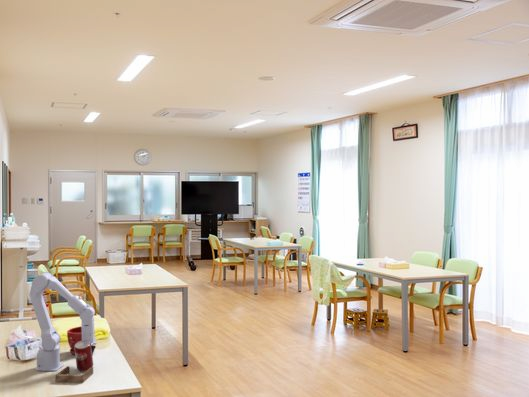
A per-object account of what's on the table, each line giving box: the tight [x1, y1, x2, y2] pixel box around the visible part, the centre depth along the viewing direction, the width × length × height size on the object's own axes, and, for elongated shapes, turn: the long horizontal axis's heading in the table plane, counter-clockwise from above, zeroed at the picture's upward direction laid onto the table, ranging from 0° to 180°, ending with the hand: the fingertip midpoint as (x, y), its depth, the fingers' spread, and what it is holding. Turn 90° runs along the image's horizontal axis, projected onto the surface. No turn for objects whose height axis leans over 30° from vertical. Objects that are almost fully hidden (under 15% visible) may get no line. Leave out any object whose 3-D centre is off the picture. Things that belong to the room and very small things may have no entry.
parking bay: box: [55, 366, 94, 384], centre depth 242 cm, size 12×12×3 cm
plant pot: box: [66, 325, 95, 356], centre depth 278 cm, size 13×13×12 cm
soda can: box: [74, 340, 94, 372], centre depth 251 cm, size 7×7×12 cm
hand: (88, 362), depth 256 cm, fingers closed, pressing on soda can
